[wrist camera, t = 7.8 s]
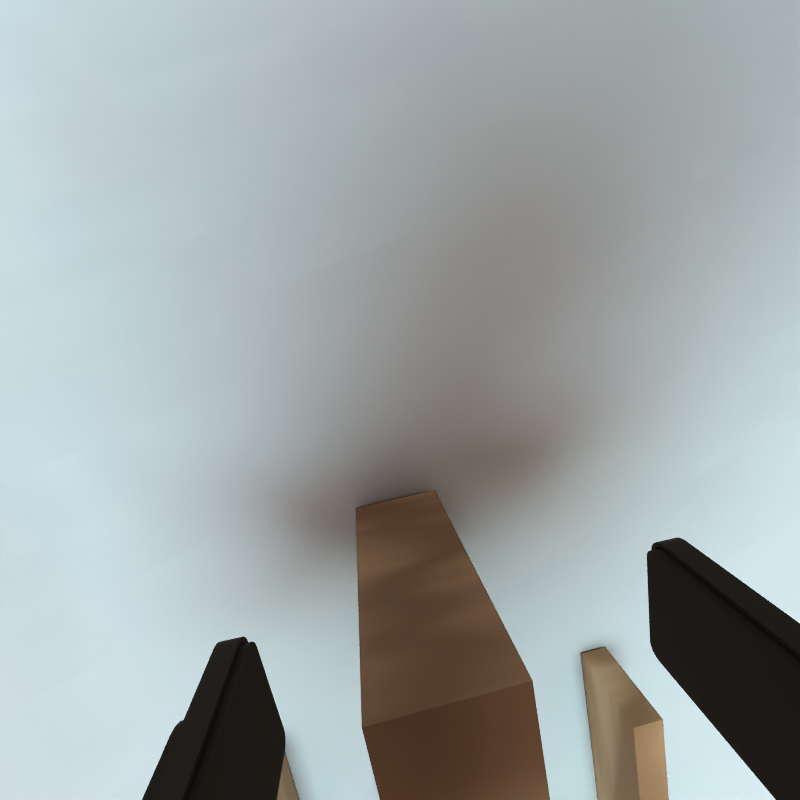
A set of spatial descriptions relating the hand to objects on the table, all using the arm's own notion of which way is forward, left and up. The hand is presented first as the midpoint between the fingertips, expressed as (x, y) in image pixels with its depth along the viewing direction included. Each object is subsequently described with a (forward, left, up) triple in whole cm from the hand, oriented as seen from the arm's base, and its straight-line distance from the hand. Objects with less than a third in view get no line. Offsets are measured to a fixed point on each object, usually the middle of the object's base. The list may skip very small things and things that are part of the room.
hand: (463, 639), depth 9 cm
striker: (+1, +7, -7) cm, 10 cm away
